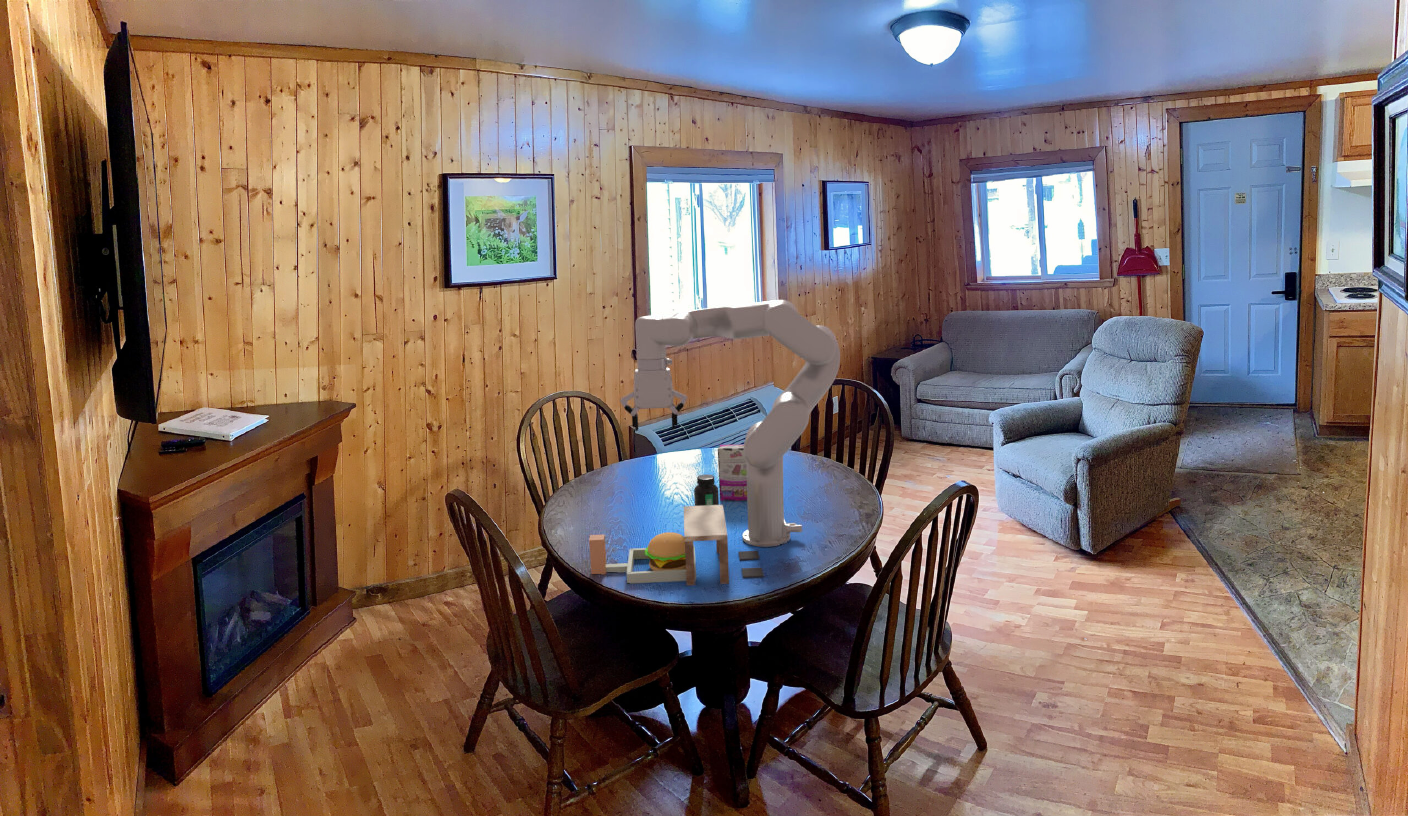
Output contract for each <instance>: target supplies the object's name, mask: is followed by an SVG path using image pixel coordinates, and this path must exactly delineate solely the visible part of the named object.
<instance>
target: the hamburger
mask: <svg viewBox="0 0 1408 816" xmlns="http://www.w3.org/2000/svg"><path fill="white" fill-rule="evenodd" d="M645 548H646V550H645V555H646V556H648V557H649V559H648V560H649V562H648V565H649V568H650V569H651V571H662V570H683V569H686V560H685V537H684V535H682V534H680V533H679V532H670V531H669V532H668V531H667V532H662V533H659V534H656V535H655V536H654V537H653V538H651V540H650V541H649V543H648V545H647V547H645Z"/></svg>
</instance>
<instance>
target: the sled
mask: <svg viewBox="0 0 1408 816" xmlns="http://www.w3.org/2000/svg"><path fill="white" fill-rule="evenodd" d="M588 542H589V543H588V544H589V557H590V560H589V561H590V571H591V572H590V573H591V574H601V575H607V573H606V572H618V573H626V584H627V583H630V584H646V583H648V584H650V583H668V582H669V583H670V582H686V569H683V570H662V571H653V570H645V571H644V570H643V571H642V570H641V571H634V563H635V560H649V557H648V556H646V555H645V550H646V548H647V547H641V548H640V547H639V548H637V547H636V548H629V550H628V552H629V553H628V557H627V559H628V560H627V563H625V562H624V563H607V550H606V536H605V534H590V536H589V541H588ZM693 546H694V570H695V581H697V566H696V564H697V563H696V550H695V549H696V548H695V545H693ZM591 574H590V575H591Z"/></svg>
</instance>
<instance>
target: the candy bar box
mask: <svg viewBox="0 0 1408 816" xmlns="http://www.w3.org/2000/svg"><path fill="white" fill-rule="evenodd" d="M717 460H718V461H717V464H718V466H717V467H718V485H719V487H718V491H719V502H720V501H721V502H747V460H746V458H745V456H744V444H719V447H717Z"/></svg>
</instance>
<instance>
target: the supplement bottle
mask: <svg viewBox="0 0 1408 816" xmlns="http://www.w3.org/2000/svg"><path fill="white" fill-rule="evenodd" d="M696 480H697V481H696V484H697V485H696V486H695V487H694V490H693V494H694V495H693V496H694V497H693V498H694V506H705V505H720V494H719V487H718V485H716V484H715V483H716V482H715V476H714V475H713V474H701V475H697V477H696Z"/></svg>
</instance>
